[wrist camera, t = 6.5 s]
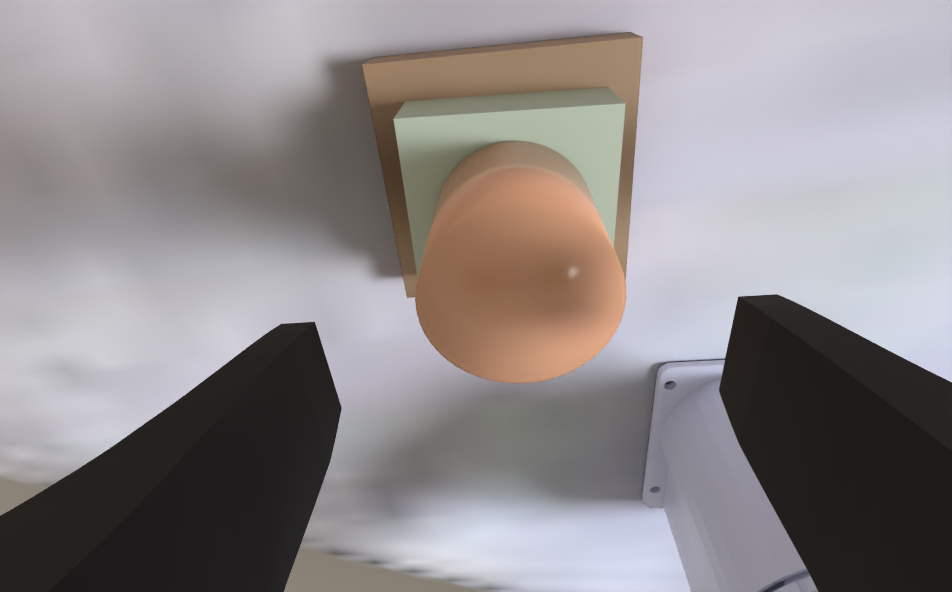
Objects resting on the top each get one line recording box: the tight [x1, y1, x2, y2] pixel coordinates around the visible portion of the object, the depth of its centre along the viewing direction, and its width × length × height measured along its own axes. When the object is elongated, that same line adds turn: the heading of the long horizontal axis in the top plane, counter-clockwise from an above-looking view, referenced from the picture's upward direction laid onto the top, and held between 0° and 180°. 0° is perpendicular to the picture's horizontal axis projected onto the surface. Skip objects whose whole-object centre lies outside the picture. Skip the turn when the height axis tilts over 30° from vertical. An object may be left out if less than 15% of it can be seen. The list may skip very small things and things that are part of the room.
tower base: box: [362, 32, 643, 298], centre depth 18 cm, size 8×8×2 cm
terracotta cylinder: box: [415, 141, 626, 383], centre depth 13 cm, size 4×4×4 cm
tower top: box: [394, 87, 626, 278], centre depth 16 cm, size 6×6×2 cm
